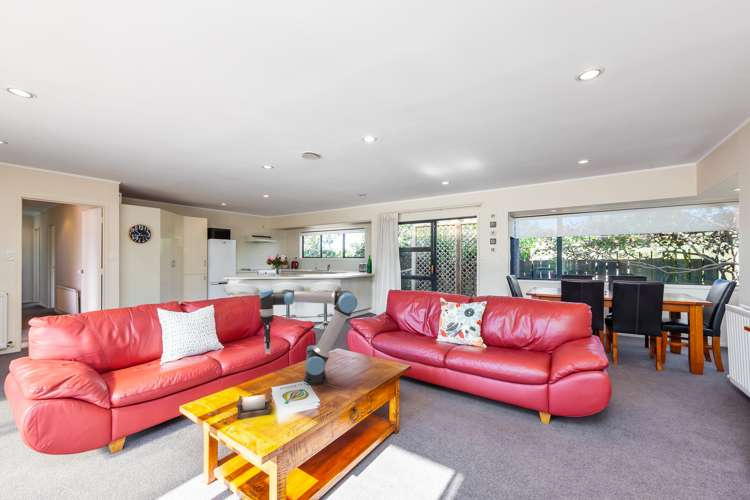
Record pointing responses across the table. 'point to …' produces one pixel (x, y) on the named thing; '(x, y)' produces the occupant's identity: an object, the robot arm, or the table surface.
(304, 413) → the table surface
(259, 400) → the roll
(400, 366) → the table surface
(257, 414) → the holder
